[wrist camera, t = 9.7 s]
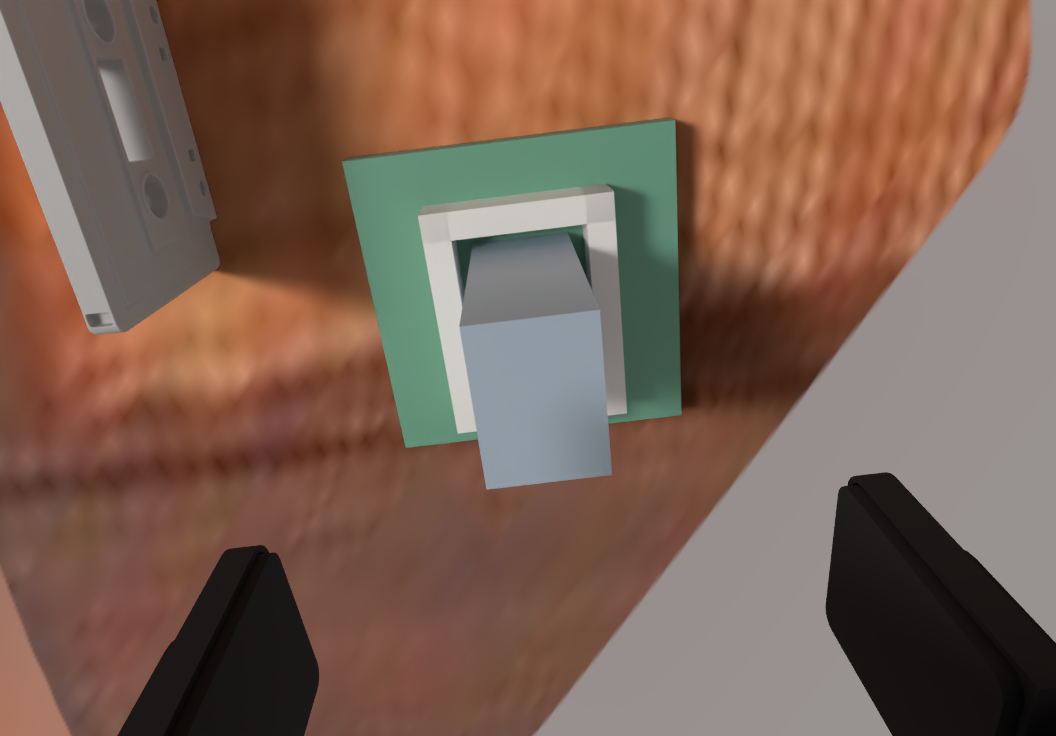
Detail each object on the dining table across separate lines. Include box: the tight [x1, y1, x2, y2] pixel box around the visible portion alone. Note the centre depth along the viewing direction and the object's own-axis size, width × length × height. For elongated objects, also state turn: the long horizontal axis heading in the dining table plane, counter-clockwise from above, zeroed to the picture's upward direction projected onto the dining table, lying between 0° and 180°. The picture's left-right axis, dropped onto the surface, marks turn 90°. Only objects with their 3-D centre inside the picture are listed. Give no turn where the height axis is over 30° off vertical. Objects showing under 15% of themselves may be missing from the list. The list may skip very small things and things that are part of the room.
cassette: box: [0, 0, 220, 334], centre depth 20 cm, size 12×2×8 cm, turn 5°
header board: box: [342, 118, 681, 448], centre depth 26 cm, size 12×12×3 cm
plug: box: [459, 232, 612, 489], centre depth 22 cm, size 6×4×9 cm, turn 6°
